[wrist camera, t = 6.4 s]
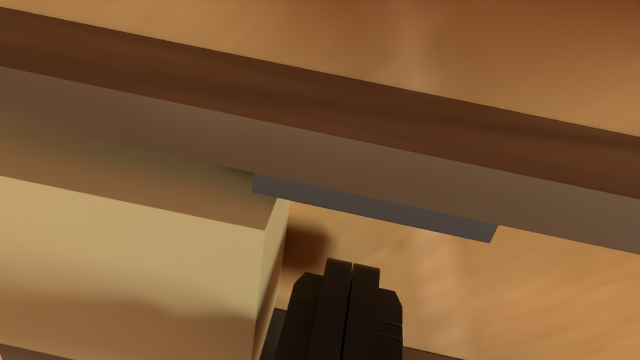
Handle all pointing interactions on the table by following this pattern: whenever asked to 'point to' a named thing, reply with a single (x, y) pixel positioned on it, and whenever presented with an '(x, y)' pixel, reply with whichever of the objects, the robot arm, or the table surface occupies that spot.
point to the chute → (323, 139)
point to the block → (132, 251)
